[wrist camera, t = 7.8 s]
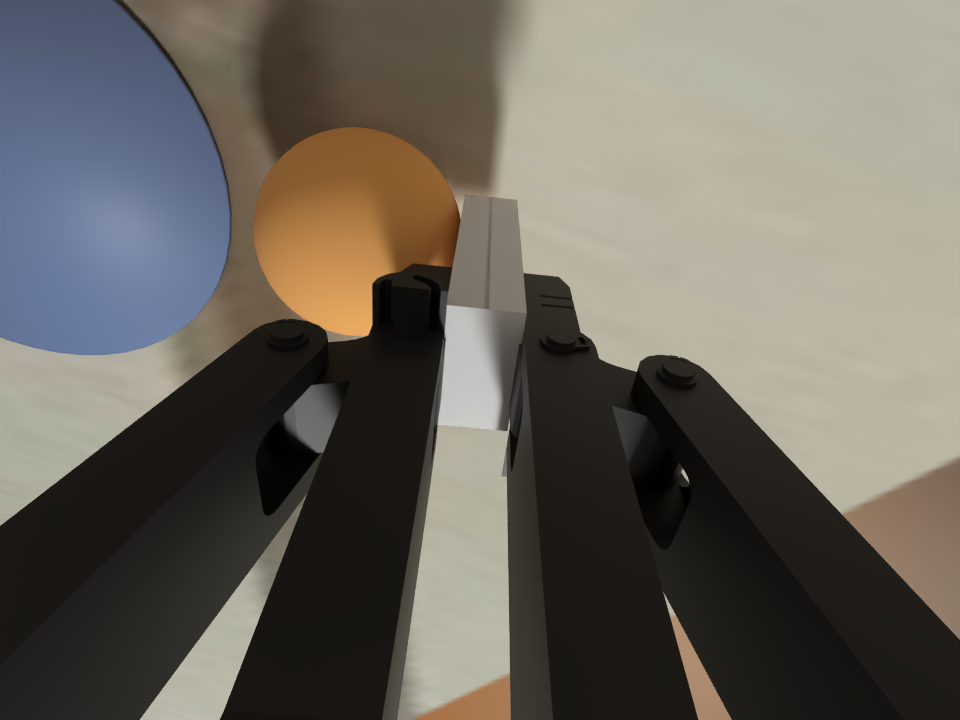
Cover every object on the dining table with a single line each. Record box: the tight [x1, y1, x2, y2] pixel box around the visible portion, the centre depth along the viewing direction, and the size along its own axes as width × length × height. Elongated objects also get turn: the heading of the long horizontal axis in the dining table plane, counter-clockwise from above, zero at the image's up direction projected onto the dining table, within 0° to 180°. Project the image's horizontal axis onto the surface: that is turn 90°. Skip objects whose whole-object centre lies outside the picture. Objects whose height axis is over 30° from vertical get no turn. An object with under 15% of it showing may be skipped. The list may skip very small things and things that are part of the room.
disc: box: [0, 0, 231, 355], centre depth 17 cm, size 13×13×1 cm
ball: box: [253, 127, 461, 336], centre depth 15 cm, size 6×6×6 cm
